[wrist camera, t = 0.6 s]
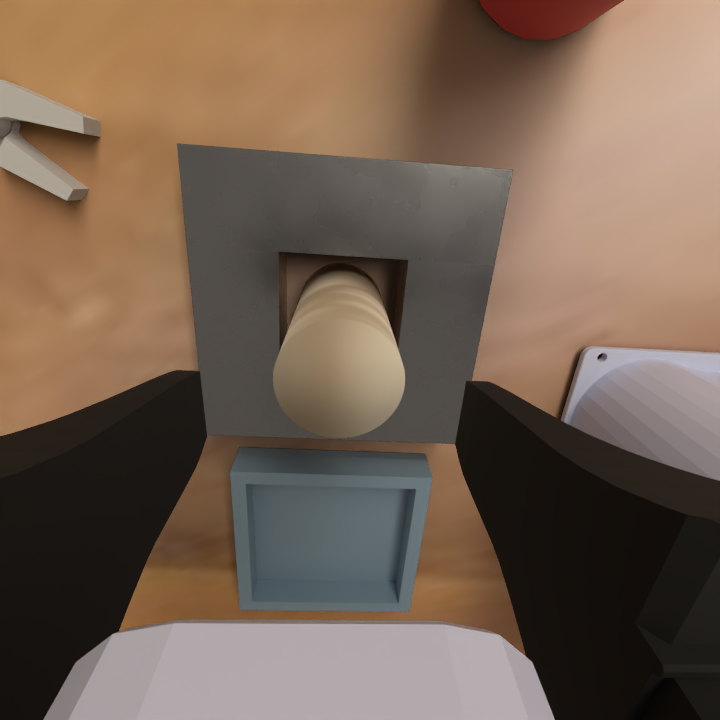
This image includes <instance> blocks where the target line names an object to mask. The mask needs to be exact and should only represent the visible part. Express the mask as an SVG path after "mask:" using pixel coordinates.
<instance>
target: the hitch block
mask: <svg viewBox="0 0 720 720" xmlns="http://www.w3.org/2000/svg"><path fill="white" fill-rule="evenodd" d="M177 148H178V159H179V169H180V179H181V189H182V200H183V210H184V220H185V231H186V241H187V251H188V262H189V272H190V282H191V293H192V303H193V313H194V324H195V334H196V344H197V354H198V365H199V371H200V376H201V385H202V394H203V403H204V412H205V421H206V430H207V435H228V436H255V437H282V438H309V439H336V440H364V441H391V442H418V443H445V444H455V441H456V435H457V430H458V424H459V419H460V413H461V407H462V402H463V396H464V390H465V385H466V381H472V377H473V372H474V367H475V361H476V356H477V351H478V346H479V341H480V336H481V331H482V326H483V321H484V316H485V311H486V306H487V301H488V296H489V290H490V285H491V280H492V275H493V270H494V265H495V260H496V255H497V250H498V245H499V240H500V235H501V230H502V225H503V219H504V214H505V209H506V204H507V199H508V194H509V189H510V184H511V179H512V174H513V170H508V169H495V168H482V167H470V166H457V165H444V164H431V163H419V162H406V161H393V160H380V159H368V158H355V157H342V156H330V155H317V154H304V153H291V152H279V151H266V150H253V149H240V148H228V147H215V146H202V145H189V144H177ZM286 252H292V253H308V254H324V255H339V256H355V257H371V258H386V259H400V266H399V275H398V285H397V294H396V304H395V313H394V322H393V335H394V338H395V341H396V344H397V347H398V350H399V353H400V356H401V359H402V362H403V366H404V371H405V387H404V392H403V395H402V398H401V401H400V403H399V405H398V407H397V408H396V410H395V411H394V413H393V414H392V415H391V416H390V417H389V418H388V419H387V420H386V421H385V422H384V423H383V424H381V425H380V426H378V427H377V428H375V429H374V430H372V431H370V432H367V433H365V434H362V435H359V436H355V437H348V438H329V437H324V436H320V435H317V434H313V433H311V432H309V431H307V430H305V429H303V428H301V427H300V426H298V425H297V424H296V423H295V422H293V421H292V420H291V419H290V418H289V417H288V416H287V415H286V413H285V412H284V411H283V409H282V408H281V406H280V404H279V403H278V400H277V398H276V395H275V391H274V386H273V371H274V366H275V363H276V360H277V357H278V355H279V352H280V349H281V347H282V344H283V342H284V339H285V336H286V334H287V301H286Z"/></svg>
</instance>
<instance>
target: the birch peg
mask: <svg viewBox="0 0 720 720" xmlns="http://www.w3.org/2000/svg"><path fill="white" fill-rule="evenodd" d="M273 386H274V391H275V395H276V398H277V400H278V403H279V404H280V406H281V408H282V409H283V411H284V412H285V413H286V415H287V416H288V417H289V418H290V419H291V420H292V421H293V422H295V423H296V424H297V425H298V426H300V427H301V428H303V429H305V430H307V431H309V432H311V433H313V434H317V435H320V436H324V437H329V438H348V437H355V436H359V435H362V434H365V433H367V432H370V431H372V430H374V429H375V428H377V427H378V426H380V425H381V424H383V423H384V422H385V421H386V420H387V419H388V418H389V417H390V416H391V415H392V414H393V413H394V411H395V410H396V408H397V407H398V405H399V403H400V401H401V398H402V395H403V392H404V387H405V371H404V366H403V362H402V359H401V356H400V353H399V350H398V347H397V344H396V341H395V338H394V335H393V332H392V329H391V326H390V323H389V320H388V317H387V313H386V310H385V307H384V304H383V301H382V298H381V295H380V292H379V289H378V287H377V285H376V283H375V281H374V280H373V278H372V277H371V276H370V275H369V274H368V273H367V272H366V271H364V270H363V269H361V268H359V267H357V266H355V265H352V264H347V263H335V264H330V265H327V266H324V267H322V268H321V269H319V270H317V271H316V272H315V273H314V274H313V275H312V276H311V277H310V278H309V280H308V281H307V283H306V285H305V287H304V289H303V292H302V295H301V297H300V300H299V302H298V305H297V308H296V310H295V313H294V315H293V318H292V321H291V323H290V326H289V329H288V331H287V334H286V336H285V339H284V342H283V344H282V347H281V349H280V352H279V355H278V357H277V360H276V363H275V366H274V371H273Z"/></svg>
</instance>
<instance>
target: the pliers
mask: <svg viewBox="0 0 720 720" xmlns="http://www.w3.org/2000/svg"><path fill="white" fill-rule="evenodd" d="M20 121H24V122H26V121H28V122H33V123H37V124H42V125H46V126H51V127H55V128H60V129H65V130H69V131H74V132H78V133H83V134H88V135H93V136H98V137H101V135H100V121H99V120H96V119H94V118H92V117H90V116H87V115H85V114H83V113H81V112H78V111H76V110H74V109H72V108H69V107H67V106H65V105H63V104H60V103H58V102H56V101H53V100H51V99H49V98H47V97H44V96H42V95H40V94H38V93H35V92H33V91H31V90H29V89H26V88H24V87H22V86H19V85H16V84H13V83H11V82H8V81H5V80H1V79H0V167H2V168H4V169H6V170H8V171H10V172H12V173H14V174H16V175H18V176H20V177H22V178H24V179H26V180H28V181H29V182H31V183H33V184H35V185H37V186H39V187H41V188H43V189H45V190H47V191H49V192H51V193H53V194H55V195H57V196H59V197H60V198H62V199H64V200H66V201H71V200H83V198H84V196H85V195H86V193H87V191H88V190H89V189H88V188H87V187H86V186H84V185H83V184H82V183H81V182H79V181H78V180H77V179H75V178H74V177H73V176H71V175H70V174H69V173H67V172H66V171H65V170H63V169H62V168H61V167H60V166H58V165H57V164H56V163H54V162H53V161H52V160H50V159H49V158H48V157H46V156H45V155H44V154H43V153H41V152H40V151H39V150H37V149H36V148H35V147H33V146H32V145H31V144H29V143H28V142H27V141H26V140H25V139H24V138H23V137H22V136H21V134H20V133H19V129H20Z"/></svg>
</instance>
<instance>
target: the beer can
mask: <svg viewBox="0 0 720 720" xmlns="http://www.w3.org/2000/svg"><path fill="white" fill-rule="evenodd" d="M479 1H480V3H481V5H482V7H483V9H484V10H485V11H486V12H487V13H488V15H489V16H490V17H491V18H492V19H493V20H494V21H495V22H496V23H497V24H498V25H499V26H500V27H501V28H502V29H503V30H506V31H508V32H510V33H512V34H515V35H517V36H519V37H522V38H524V39H526V40H553V39H556V38H559V37H561V36H564V35H567V34H569V33H572V32H575V31H577V30H579V29H581V28H582V27H584V26H585V25H587V24H588V23H590V22H591V21H593V20H595V19H596V18H598V17H599V16H601V15H602V14H604V13H605V12H607V11H608V10H610V9H611V8H613V7H614V6H616V5H617V4H619V3H621V2H622V1H624V0H479Z"/></svg>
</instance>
